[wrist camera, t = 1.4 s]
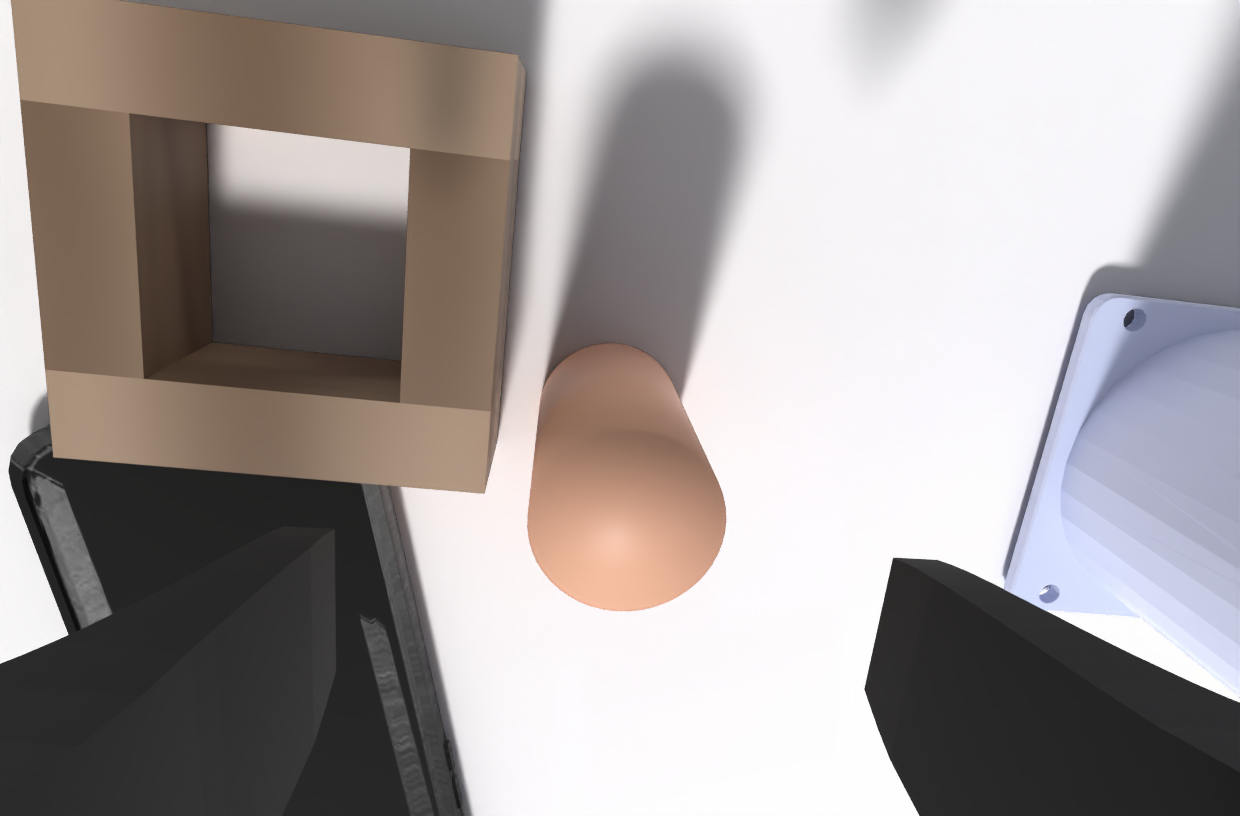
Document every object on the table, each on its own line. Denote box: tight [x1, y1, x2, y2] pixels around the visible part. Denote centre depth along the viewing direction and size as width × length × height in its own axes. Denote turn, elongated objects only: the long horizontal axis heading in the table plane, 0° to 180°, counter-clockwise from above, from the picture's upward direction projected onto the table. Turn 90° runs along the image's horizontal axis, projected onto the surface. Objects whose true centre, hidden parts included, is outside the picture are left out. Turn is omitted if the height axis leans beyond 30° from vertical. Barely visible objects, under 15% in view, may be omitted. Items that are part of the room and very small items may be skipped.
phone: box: [9, 424, 463, 816], centre depth 20 cm, size 8×1×15 cm
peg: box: [527, 343, 726, 611], centre depth 16 cm, size 3×3×6 cm
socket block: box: [11, 0, 526, 494], centre depth 16 cm, size 8×8×3 cm
